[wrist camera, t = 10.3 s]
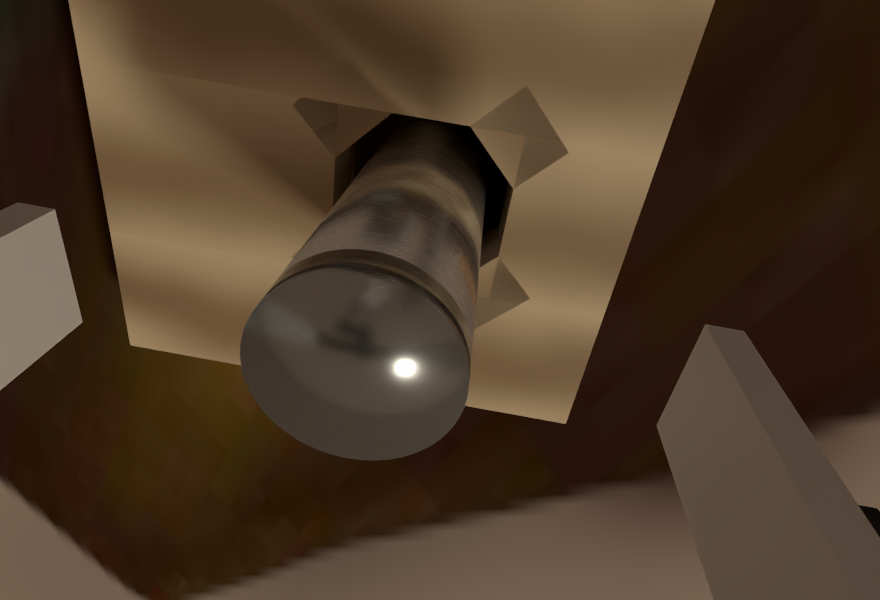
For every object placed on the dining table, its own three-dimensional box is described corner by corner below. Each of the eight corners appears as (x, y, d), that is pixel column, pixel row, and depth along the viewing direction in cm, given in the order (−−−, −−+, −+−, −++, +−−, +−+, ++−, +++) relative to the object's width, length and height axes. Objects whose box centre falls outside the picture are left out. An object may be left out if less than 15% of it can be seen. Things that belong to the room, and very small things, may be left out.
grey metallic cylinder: (376, 111, 20) (234, 253, 9) (497, 132, 20) (489, 298, 9) (367, 224, 22) (244, 439, 12) (475, 243, 22) (450, 476, 11)
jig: (112, -131, 17) (41, -152, 14) (693, -35, 17) (728, -38, 14) (169, 307, 25) (130, 345, 22) (559, 377, 25) (565, 423, 22)
